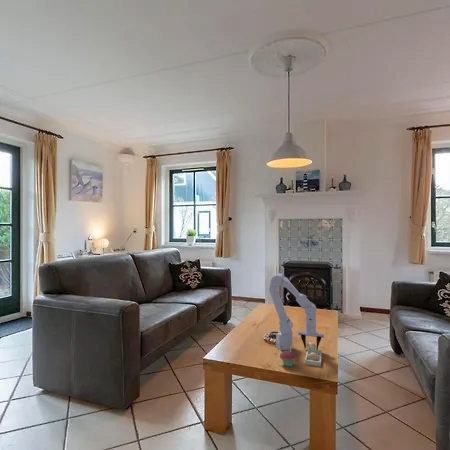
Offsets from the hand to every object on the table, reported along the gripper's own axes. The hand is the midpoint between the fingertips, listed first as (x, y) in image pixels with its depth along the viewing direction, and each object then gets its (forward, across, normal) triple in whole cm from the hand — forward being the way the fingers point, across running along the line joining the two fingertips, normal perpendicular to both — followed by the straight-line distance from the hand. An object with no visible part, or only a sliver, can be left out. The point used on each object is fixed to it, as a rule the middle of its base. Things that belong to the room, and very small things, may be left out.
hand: (311, 348), depth 181 cm
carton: (+1, -2, +12) cm, 12 cm away
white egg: (+1, 0, 0) cm, 1 cm away
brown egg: (+1, -2, +15) cm, 15 cm away
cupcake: (+2, +10, +22) cm, 24 cm away
